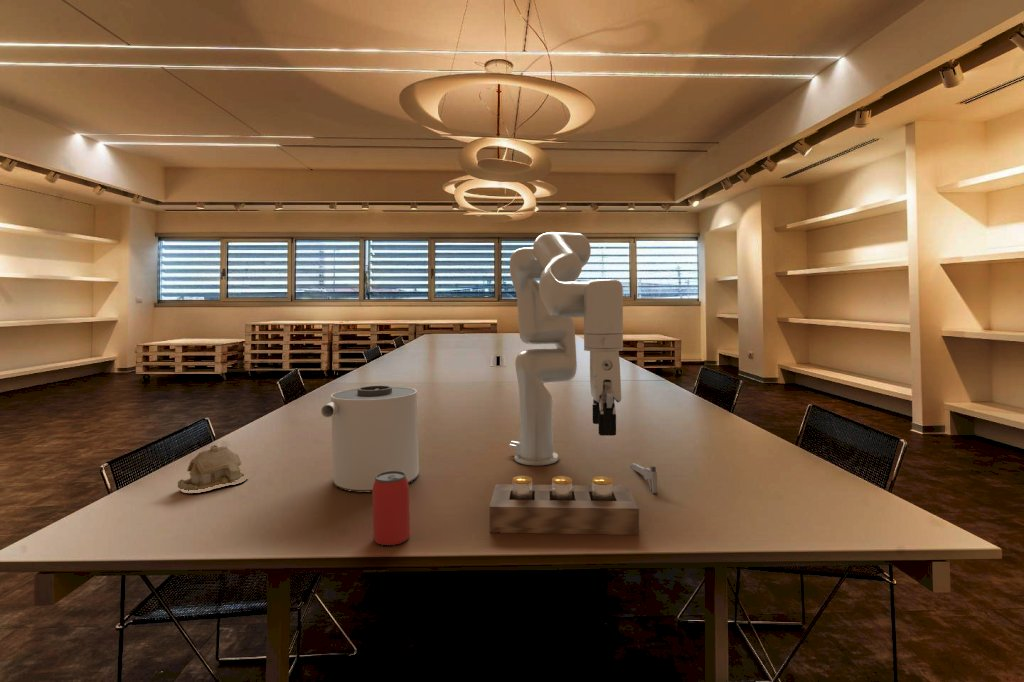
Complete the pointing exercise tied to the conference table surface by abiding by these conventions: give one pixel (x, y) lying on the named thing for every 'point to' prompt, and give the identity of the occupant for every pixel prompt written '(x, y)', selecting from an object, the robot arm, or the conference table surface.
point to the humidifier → (373, 434)
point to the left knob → (522, 488)
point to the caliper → (648, 475)
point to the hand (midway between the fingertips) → (603, 429)
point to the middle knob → (562, 488)
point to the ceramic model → (212, 469)
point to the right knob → (601, 489)
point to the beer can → (391, 508)
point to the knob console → (564, 512)
